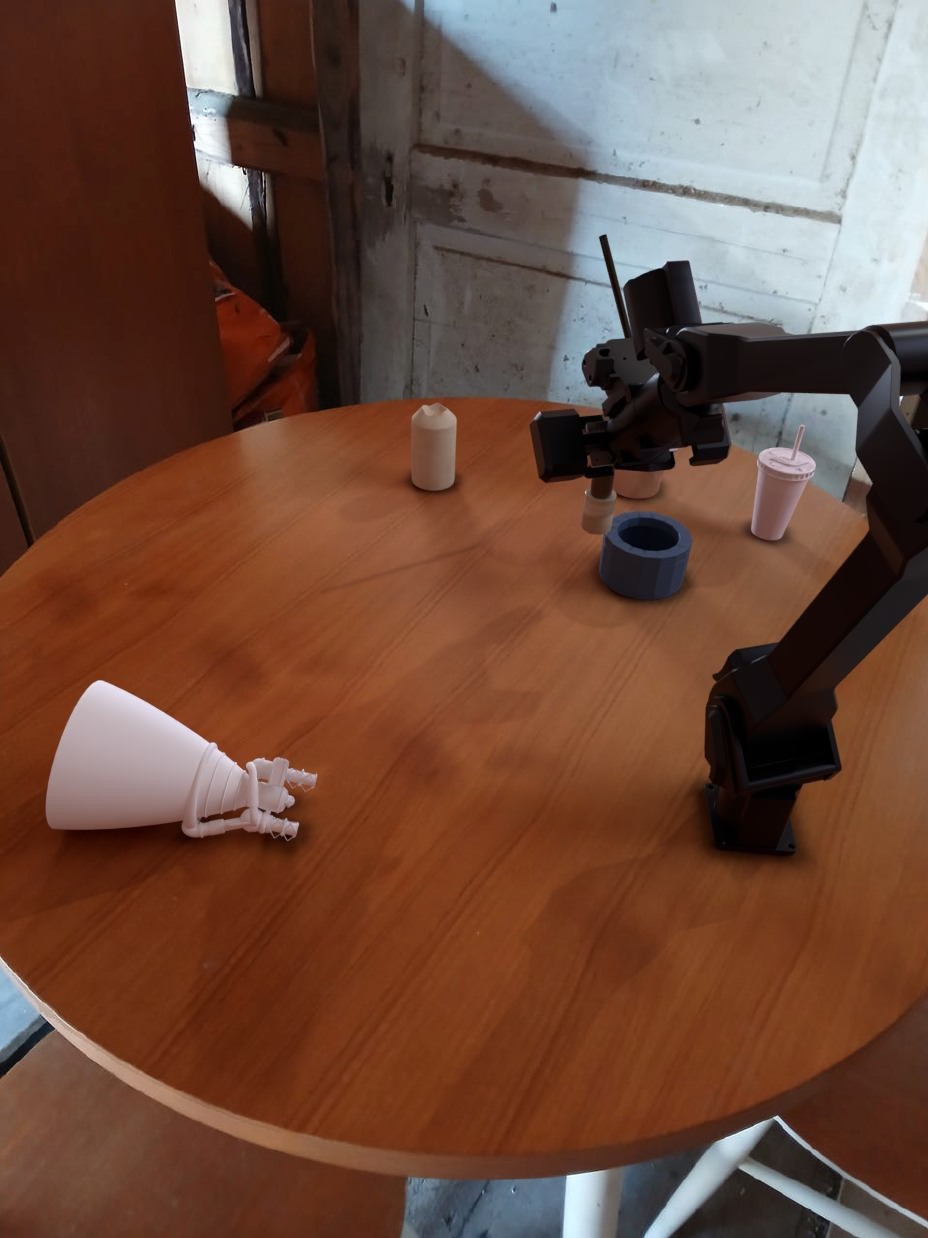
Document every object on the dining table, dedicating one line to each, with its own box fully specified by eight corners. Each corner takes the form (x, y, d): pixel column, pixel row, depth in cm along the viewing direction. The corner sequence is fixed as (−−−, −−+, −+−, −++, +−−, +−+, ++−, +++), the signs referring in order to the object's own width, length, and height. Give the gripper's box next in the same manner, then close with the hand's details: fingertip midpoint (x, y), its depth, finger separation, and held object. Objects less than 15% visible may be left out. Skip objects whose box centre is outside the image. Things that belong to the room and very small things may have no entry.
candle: (405, 486, 114) (405, 413, 108) (419, 466, 118) (420, 395, 112) (447, 494, 113) (449, 420, 107) (460, 474, 117) (462, 402, 111)
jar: (687, 603, 97) (697, 560, 93) (601, 596, 97) (607, 554, 94) (677, 555, 104) (686, 514, 101) (597, 549, 104) (603, 508, 101)
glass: (569, 474, 118) (597, 233, 100) (641, 459, 122) (681, 224, 103) (613, 514, 110) (653, 262, 92) (689, 497, 114) (741, 251, 96)
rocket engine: (326, 731, 66) (81, 672, 65) (285, 890, 64) (29, 833, 62) (328, 737, 78) (119, 687, 76) (293, 873, 75) (76, 824, 74)
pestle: (592, 537, 93) (608, 426, 86) (574, 522, 96) (588, 413, 88) (617, 530, 95) (635, 420, 87) (599, 515, 97) (615, 407, 89)
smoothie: (796, 550, 106) (830, 441, 97) (740, 542, 106) (769, 434, 98) (792, 521, 111) (824, 415, 102) (738, 514, 111) (766, 409, 103)
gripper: (743, 313, 80) (667, 382, 95) (545, 327, 76) (498, 397, 91) (769, 434, 79) (687, 484, 94) (569, 456, 74) (517, 504, 90)
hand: (599, 464), depth 92 cm, fingers closed on pestle, 2 cm apart
